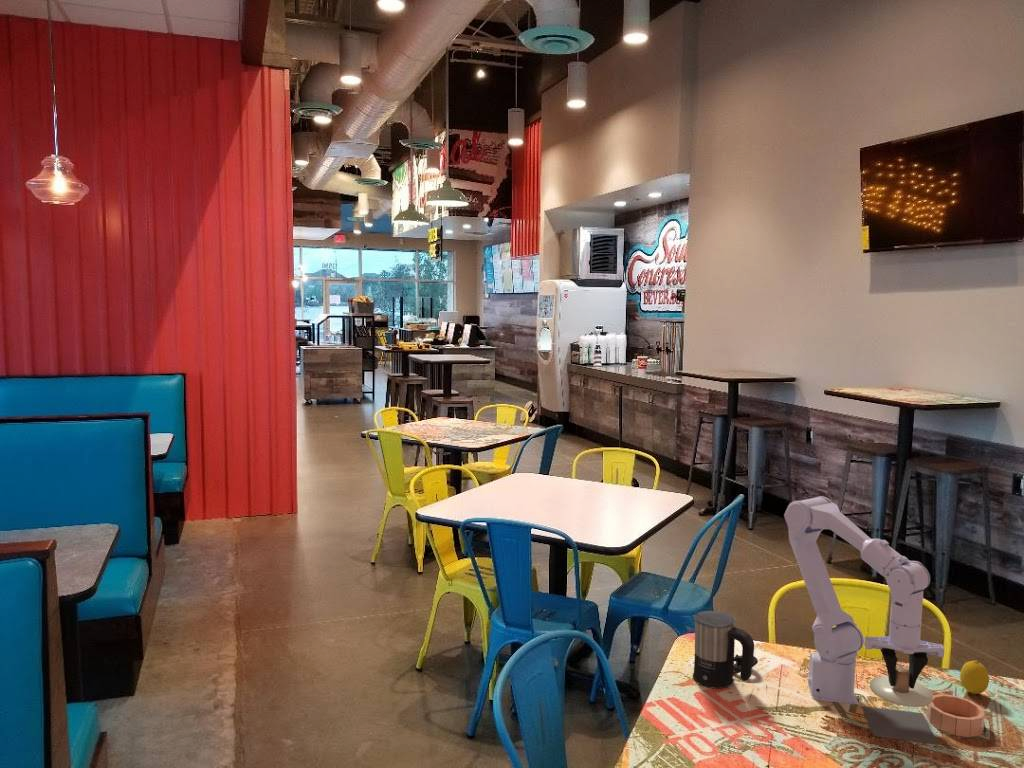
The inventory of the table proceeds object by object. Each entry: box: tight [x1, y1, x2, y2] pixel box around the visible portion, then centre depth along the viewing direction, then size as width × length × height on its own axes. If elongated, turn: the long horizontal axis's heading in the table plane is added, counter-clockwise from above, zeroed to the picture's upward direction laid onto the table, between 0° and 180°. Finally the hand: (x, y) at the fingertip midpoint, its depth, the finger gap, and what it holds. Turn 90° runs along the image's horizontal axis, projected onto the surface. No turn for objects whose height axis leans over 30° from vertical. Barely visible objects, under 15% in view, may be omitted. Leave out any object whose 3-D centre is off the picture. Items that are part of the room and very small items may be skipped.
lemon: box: [959, 659, 990, 695], centre depth 174 cm, size 6×6×8 cm
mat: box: [861, 705, 940, 745], centre depth 161 cm, size 12×12×1 cm
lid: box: [869, 667, 933, 708], centre depth 160 cm, size 12×12×5 cm
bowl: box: [926, 693, 986, 738], centre depth 162 cm, size 10×10×4 cm
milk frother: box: [692, 610, 759, 689], centre depth 182 cm, size 14×16×15 cm
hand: (901, 685), depth 160 cm, fingers closed on lid, 3 cm apart
